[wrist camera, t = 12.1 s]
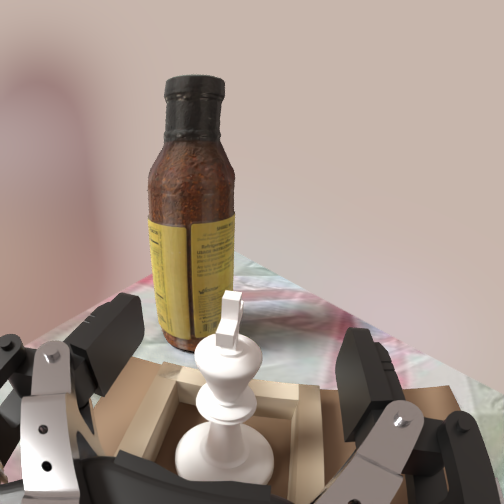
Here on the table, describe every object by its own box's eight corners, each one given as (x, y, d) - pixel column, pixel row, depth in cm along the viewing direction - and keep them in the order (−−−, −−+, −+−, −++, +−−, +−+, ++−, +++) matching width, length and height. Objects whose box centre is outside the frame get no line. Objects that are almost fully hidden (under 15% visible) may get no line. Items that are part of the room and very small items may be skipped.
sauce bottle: (230, 313, 26) (247, 91, 19) (232, 358, 20) (256, 71, 13) (162, 310, 25) (165, 89, 18) (150, 353, 20) (144, 70, 12)
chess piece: (163, 488, 9) (96, 330, 5) (189, 416, 13) (177, 250, 10) (268, 508, 8) (340, 375, 5) (277, 431, 13) (318, 268, 9)
